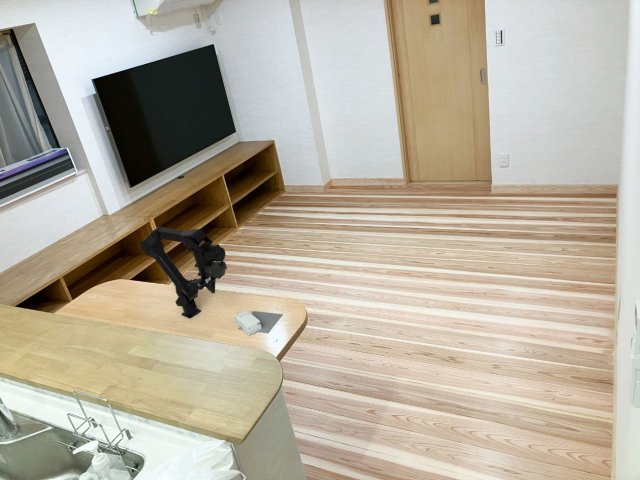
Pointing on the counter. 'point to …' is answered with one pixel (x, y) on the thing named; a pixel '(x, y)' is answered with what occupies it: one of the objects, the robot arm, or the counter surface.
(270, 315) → the slate mat
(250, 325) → the skincare box
